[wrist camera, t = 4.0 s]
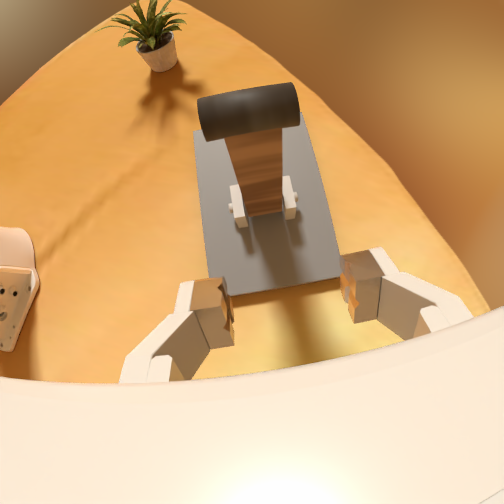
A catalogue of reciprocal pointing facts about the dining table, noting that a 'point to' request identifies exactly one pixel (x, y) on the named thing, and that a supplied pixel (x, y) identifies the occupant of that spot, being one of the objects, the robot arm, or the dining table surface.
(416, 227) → the dining table surface
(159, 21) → the house plant
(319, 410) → the robot arm
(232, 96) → the lever
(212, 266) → the press base
